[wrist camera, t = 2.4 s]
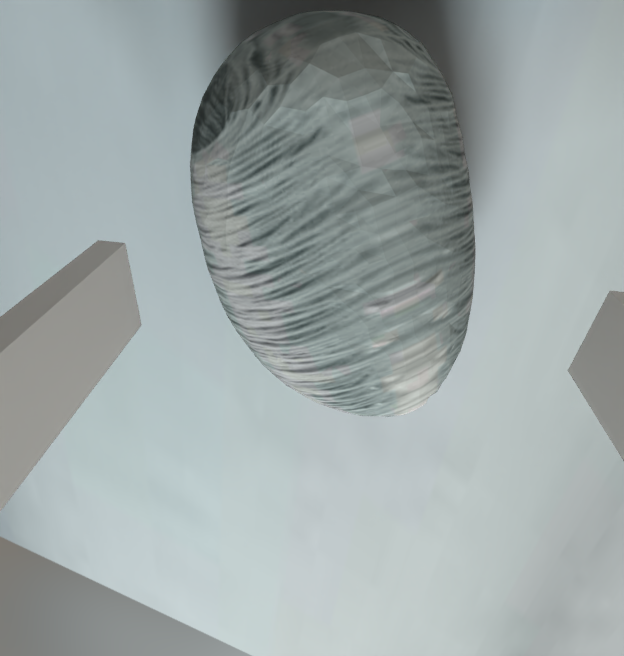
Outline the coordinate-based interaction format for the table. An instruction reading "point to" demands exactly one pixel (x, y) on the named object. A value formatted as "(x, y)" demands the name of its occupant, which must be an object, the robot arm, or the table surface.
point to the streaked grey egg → (338, 209)
